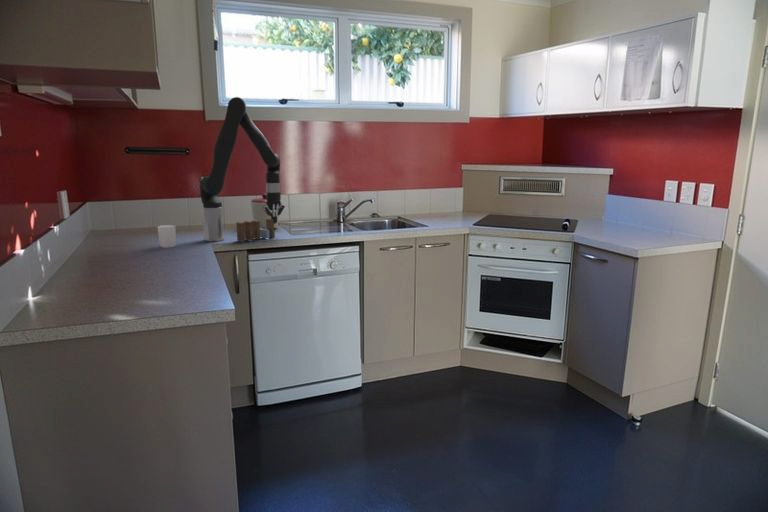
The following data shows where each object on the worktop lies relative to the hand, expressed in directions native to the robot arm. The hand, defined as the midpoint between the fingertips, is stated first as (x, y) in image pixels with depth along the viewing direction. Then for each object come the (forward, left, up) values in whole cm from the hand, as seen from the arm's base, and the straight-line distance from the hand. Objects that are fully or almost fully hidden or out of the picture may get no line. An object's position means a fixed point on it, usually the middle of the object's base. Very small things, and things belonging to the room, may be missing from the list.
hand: (274, 223), depth 278 cm
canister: (+12, +27, -8) cm, 30 cm away
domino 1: (-20, 0, -7) cm, 22 cm away
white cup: (-53, +12, -8) cm, 55 cm away
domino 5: (-2, 0, -7) cm, 8 cm away
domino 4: (-7, -5, -5) cm, 10 cm away
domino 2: (-16, 0, -7) cm, 18 cm away
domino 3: (-11, 0, -7) cm, 14 cm away
